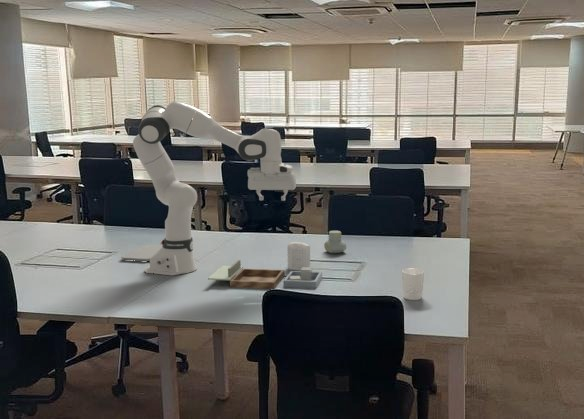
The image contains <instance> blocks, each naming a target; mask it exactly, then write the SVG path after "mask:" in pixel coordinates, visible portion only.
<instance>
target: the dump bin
mask: <svg viewBox="0 0 584 419" xmlns="http://www.w3.org/2000/svg"><path fill="white" fill-rule="evenodd" d="M290 276H300V278H301V271H299V270H290V271H289V273H288V274H287V275H286V277H284V279H283V280H282V282H283V288H299V289H300V288H302V289H303V288H304V289H305V288H306V289H317V287H318V286H319V284H320V282H321V281H322V278H323V271H312V278H313V279H312V281H300V280H290Z"/></svg>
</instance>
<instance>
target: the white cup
mask: <svg viewBox="0 0 584 419" xmlns="http://www.w3.org/2000/svg"><path fill="white" fill-rule="evenodd" d="M401 275H402V291H403V299H405V300H408V301H418V300H422V299H423V291H424V281H425V280H424V278H425V271H424V270H423V269H421V268H403V269H402V270H401Z"/></svg>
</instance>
